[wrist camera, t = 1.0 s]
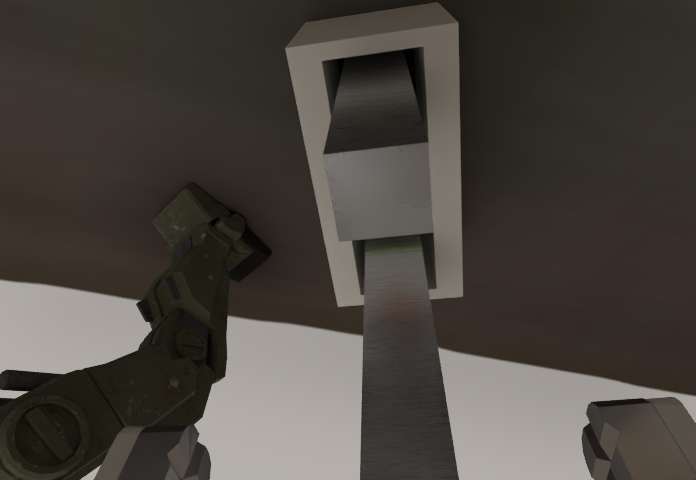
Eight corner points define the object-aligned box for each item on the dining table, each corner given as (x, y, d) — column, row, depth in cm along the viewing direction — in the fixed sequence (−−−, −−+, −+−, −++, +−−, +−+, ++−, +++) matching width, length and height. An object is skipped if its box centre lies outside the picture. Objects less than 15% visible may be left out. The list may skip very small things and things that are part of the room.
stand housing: (305, 22, 36) (283, 50, 27) (437, 2, 35) (459, 24, 26) (344, 240, 46) (337, 311, 38) (446, 230, 45) (464, 301, 36)
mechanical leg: (304, 273, 48) (109, 572, 21) (258, 308, 51) (33, 611, 24) (211, 170, 46) (-147, 353, 18) (168, 212, 48) (-196, 425, 21)
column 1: (347, 44, 36) (322, 154, 18) (399, 36, 36) (428, 141, 17) (355, 102, 39) (340, 251, 20) (404, 95, 38) (434, 242, 20)
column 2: (365, 228, 36) (358, 535, 18) (418, 223, 36) (467, 532, 17) (372, 275, 38) (372, 587, 20) (421, 271, 38) (468, 586, 19)
